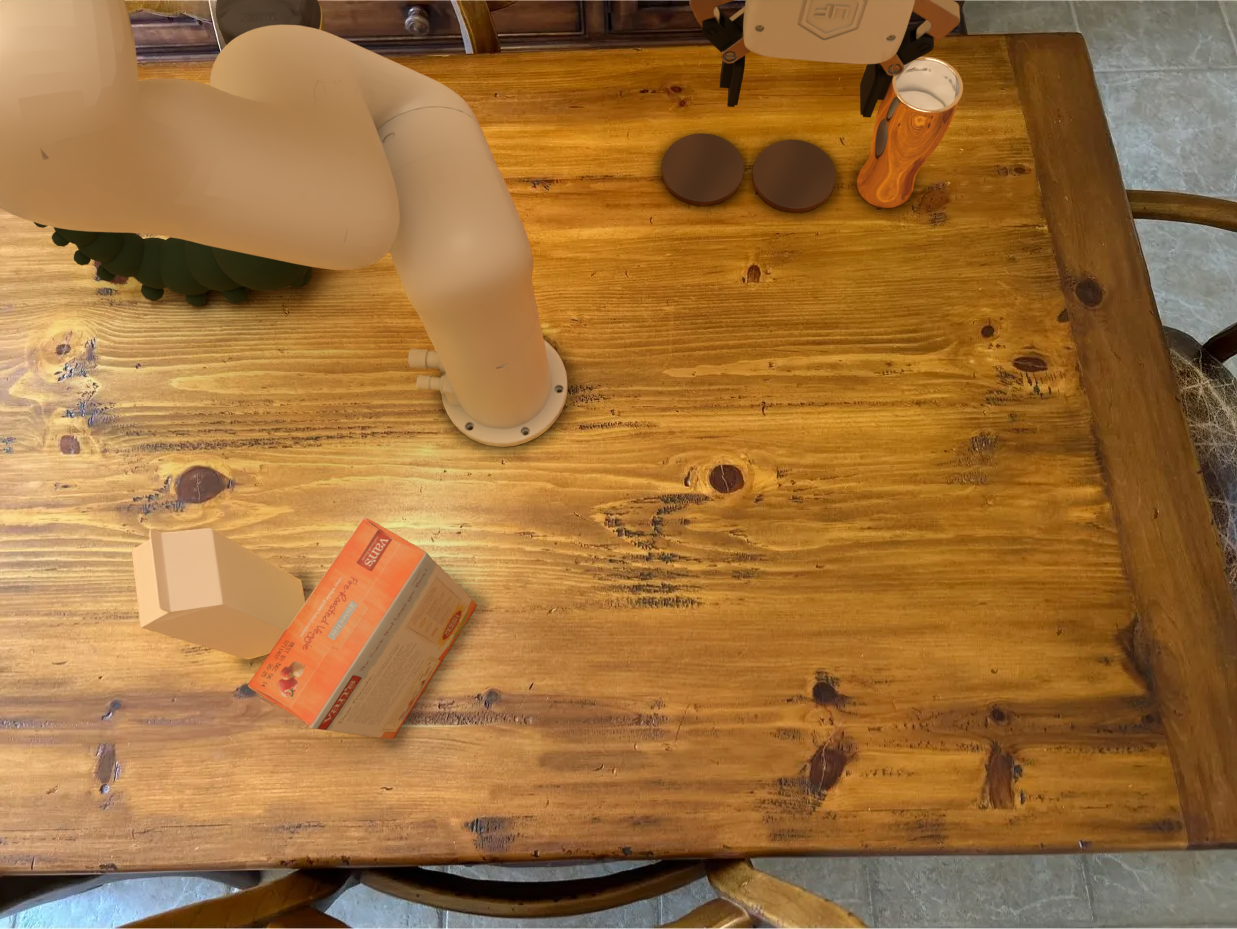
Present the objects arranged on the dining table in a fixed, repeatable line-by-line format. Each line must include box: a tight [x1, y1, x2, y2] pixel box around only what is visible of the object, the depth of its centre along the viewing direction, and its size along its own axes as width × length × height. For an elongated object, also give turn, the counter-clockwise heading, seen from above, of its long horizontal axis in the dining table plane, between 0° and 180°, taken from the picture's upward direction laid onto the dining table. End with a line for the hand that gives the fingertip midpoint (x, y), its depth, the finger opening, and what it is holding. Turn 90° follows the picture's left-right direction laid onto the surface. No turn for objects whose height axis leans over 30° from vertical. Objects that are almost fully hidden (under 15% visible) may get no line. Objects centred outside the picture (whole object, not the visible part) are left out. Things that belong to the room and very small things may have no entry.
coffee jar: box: [215, 0, 326, 46], centre depth 91 cm, size 10×8×19 cm
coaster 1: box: [661, 132, 745, 207], centre depth 97 cm, size 9×9×1 cm
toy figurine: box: [33, 222, 313, 308], centre depth 85 cm, size 9×19×25 cm
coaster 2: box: [751, 139, 837, 214], centre depth 97 cm, size 9×9×1 cm
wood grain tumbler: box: [856, 56, 964, 209], centre depth 89 cm, size 7×7×15 cm
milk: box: [131, 527, 306, 661], centre depth 71 cm, size 6×6×22 cm
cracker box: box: [247, 516, 478, 740], centre depth 71 cm, size 14×6×21 cm, turn 150°
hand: (798, 96), depth 64 cm, fingers open, 9 cm apart
